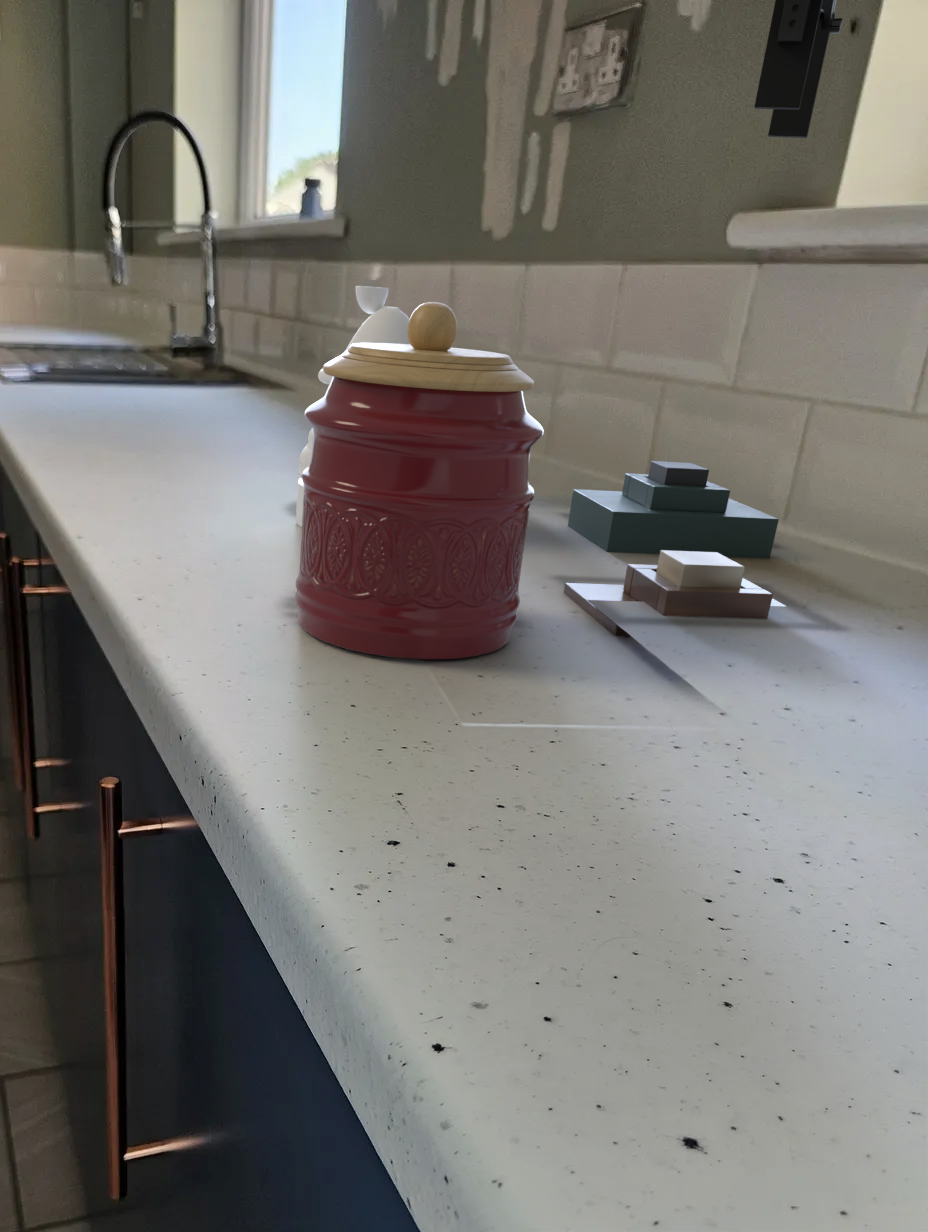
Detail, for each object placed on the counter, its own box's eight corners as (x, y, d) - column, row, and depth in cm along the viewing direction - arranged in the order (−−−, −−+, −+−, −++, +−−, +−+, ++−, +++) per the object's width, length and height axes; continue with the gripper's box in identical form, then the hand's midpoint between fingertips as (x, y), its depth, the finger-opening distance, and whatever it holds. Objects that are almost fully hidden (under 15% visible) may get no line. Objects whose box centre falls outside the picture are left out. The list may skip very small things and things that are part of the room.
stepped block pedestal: (754, 599, 79) (762, 563, 78) (829, 642, 70) (839, 602, 69) (563, 592, 77) (568, 556, 76) (614, 635, 68) (621, 595, 67)
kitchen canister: (494, 678, 59) (544, 312, 51) (261, 642, 62) (276, 292, 54) (528, 617, 70) (572, 310, 63) (330, 590, 73) (350, 293, 66)
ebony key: (687, 484, 95) (691, 462, 95) (705, 491, 92) (709, 469, 91) (646, 482, 95) (650, 460, 94) (663, 489, 92) (667, 467, 91)
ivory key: (712, 578, 75) (717, 552, 74) (739, 594, 71) (745, 566, 70) (655, 576, 74) (660, 549, 73) (679, 592, 70) (685, 564, 70)
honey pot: (263, 520, 92) (273, 279, 85) (361, 505, 102) (378, 286, 94) (386, 550, 85) (409, 290, 78) (480, 531, 94) (508, 296, 87)
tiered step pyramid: (717, 532, 101) (729, 475, 99) (770, 558, 92) (784, 496, 90) (567, 526, 99) (576, 467, 97) (606, 552, 90) (617, 488, 88)
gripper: (808, -199, 80) (741, 144, 89) (792, -382, 59) (706, 92, 68) (923, -206, 77) (842, 148, 86) (950, -400, 56) (838, 94, 65)
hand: (782, 124), depth 77 cm, fingers open, 13 cm apart
